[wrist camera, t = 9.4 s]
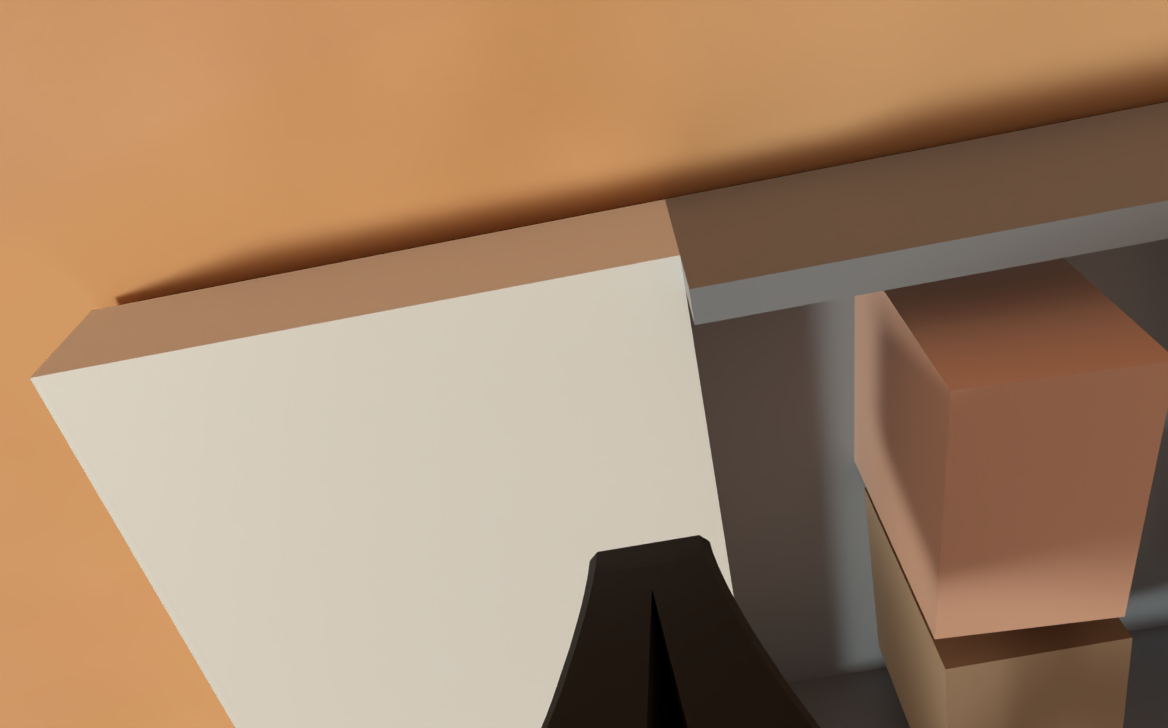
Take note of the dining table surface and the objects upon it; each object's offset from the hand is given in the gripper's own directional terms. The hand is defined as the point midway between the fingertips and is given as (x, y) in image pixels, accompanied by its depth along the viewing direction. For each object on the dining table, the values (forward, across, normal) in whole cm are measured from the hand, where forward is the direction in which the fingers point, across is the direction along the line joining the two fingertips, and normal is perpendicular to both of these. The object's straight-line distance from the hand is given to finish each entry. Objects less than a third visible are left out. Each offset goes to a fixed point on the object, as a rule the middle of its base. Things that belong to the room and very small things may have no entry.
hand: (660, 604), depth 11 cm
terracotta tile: (+3, -4, 0) cm, 4 cm away
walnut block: (+3, -4, +5) cm, 7 cm away
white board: (+5, +4, +2) cm, 7 cm away
